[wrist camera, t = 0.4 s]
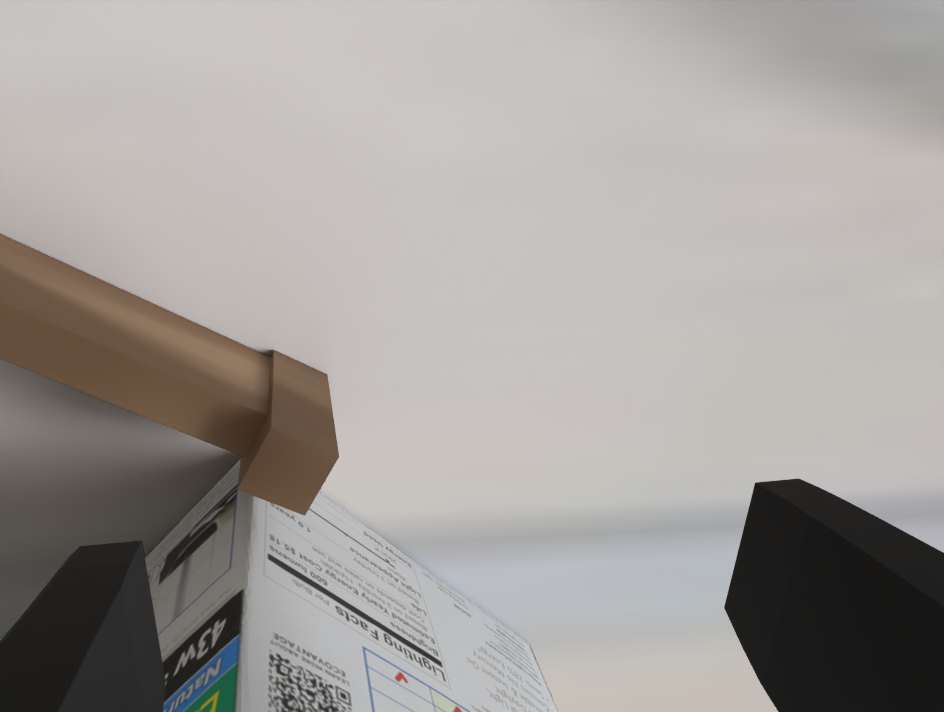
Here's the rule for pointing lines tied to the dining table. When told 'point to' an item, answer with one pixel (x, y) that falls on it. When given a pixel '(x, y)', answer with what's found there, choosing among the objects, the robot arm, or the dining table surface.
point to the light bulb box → (320, 619)
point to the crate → (170, 373)
